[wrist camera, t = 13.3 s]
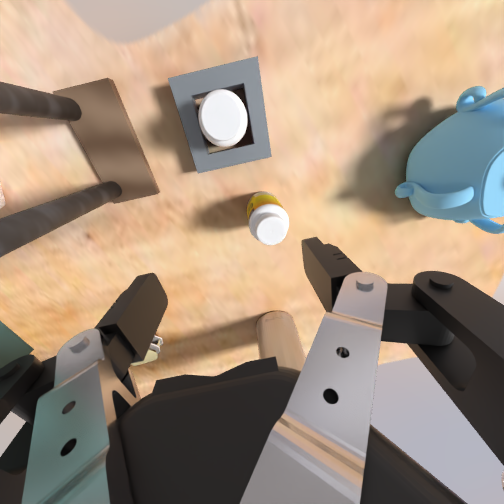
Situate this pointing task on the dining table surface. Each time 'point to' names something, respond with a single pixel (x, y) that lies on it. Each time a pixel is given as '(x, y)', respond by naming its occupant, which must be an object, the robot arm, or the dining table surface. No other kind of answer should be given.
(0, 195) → the unicorn horn
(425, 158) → the decorative pot
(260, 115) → the socket
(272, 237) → the supplement bottle
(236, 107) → the pill bottle
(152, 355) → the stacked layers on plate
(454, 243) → the dining table surface
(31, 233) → the green-topped post stand
